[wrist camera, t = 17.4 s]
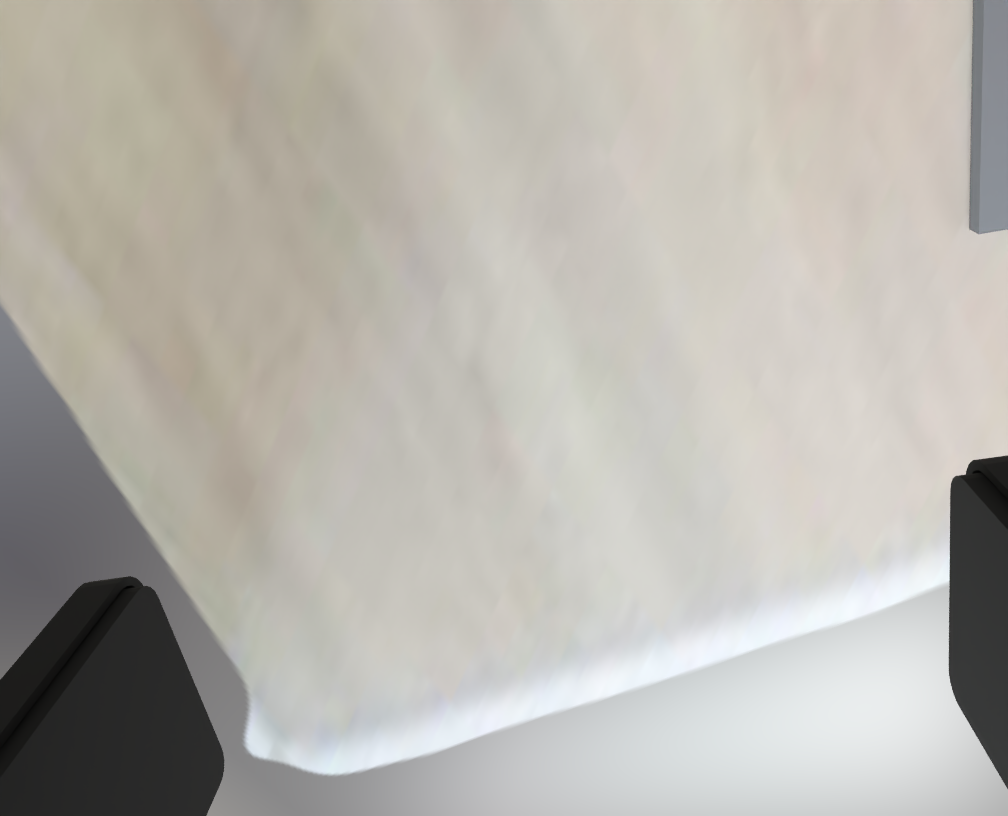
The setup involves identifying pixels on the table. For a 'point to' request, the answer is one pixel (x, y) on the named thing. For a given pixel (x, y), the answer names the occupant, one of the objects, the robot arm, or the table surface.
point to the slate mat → (989, 117)
